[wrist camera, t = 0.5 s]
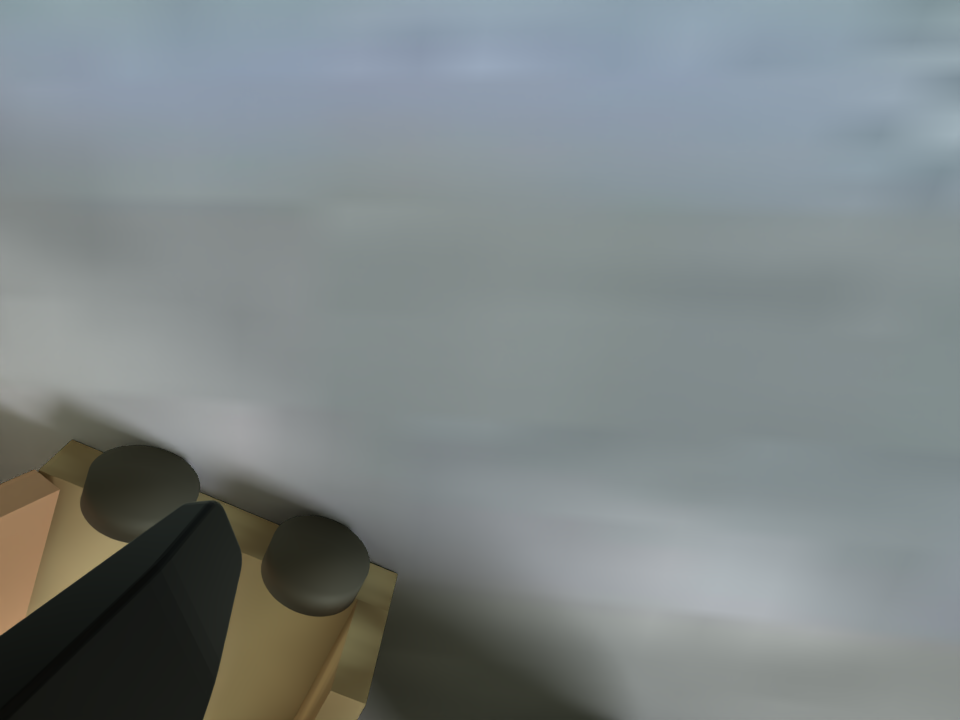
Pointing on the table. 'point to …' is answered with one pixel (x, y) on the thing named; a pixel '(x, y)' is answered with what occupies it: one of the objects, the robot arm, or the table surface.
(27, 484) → the tailgate
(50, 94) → the table surface
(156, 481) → the cart bed
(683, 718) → the table surface
